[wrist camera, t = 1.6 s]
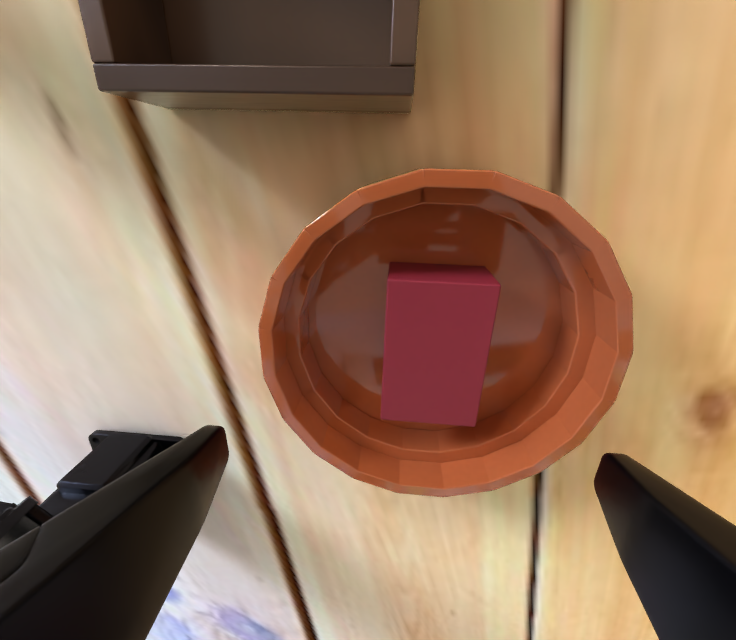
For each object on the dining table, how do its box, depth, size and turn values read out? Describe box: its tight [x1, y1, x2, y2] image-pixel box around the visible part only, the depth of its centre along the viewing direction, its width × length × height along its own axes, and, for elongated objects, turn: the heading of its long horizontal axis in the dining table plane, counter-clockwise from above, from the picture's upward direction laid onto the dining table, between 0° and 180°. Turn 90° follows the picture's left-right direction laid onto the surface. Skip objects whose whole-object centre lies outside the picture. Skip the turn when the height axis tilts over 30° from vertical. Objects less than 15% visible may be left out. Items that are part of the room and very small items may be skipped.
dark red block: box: [380, 262, 501, 427], centre depth 17 cm, size 7×4×3 cm, turn 179°
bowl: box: [259, 168, 633, 497], centre depth 17 cm, size 15×15×4 cm
